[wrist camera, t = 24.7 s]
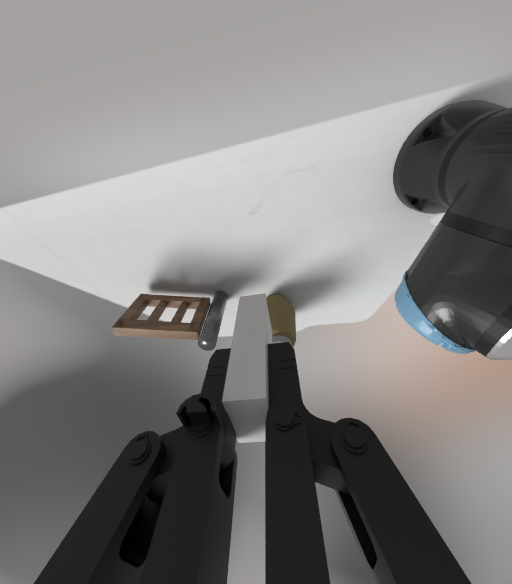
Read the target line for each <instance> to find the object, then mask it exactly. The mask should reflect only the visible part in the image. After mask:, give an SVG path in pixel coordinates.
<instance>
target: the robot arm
mask: <svg viewBox="0 0 512 584" xmlns="http://www.w3.org/2000/svg"><path fill="white" fill-rule="evenodd" d="M393 182H394V188H395V192H396V194H397V196H398V198H399V199H400V200H401V202H402V203H403V204H405V205H406V206H407V207H409V208H411V209H414V210H416V211H419V212H423V213H431V214H435V213H444V212H446V213H445V215H444V216H443V218H442V219H441V221H440V222H439V224H438V225H437V227H436V228H435V230H434V232H433V233H432V235H431V236H430V238H429V239H428V241H427V242H426V244H425V245H424V247H423V248H422V250H421V251H420V253H419V254H418V256H417V258H416V259H415V261H414V262H413V264H412V265H411V267H410V268H409V269H408V270H407V271H406V272H405V274H404V276H403V280H402V282H401V284H400V286H399V287H398V289H397V291H396V293H395V302H396V307H397V309H398V311H399V313H400V314H401V316H402V317H403V318H404V320H405V321H406V322H407V323H408V324H409V325H410V326H411V327H412V328H413V329H414V330H416V331H417V332H418V333H419V334H421V335H422V336H423V337H424V338H426V339H427V340H429V341H431V342H432V343H434V344H436V345H439V344H440V345H441V346H442V347H443V348H444V349H446V350H449V351H451V352H455V353H462V354H465V353H470V352H474V351H478V352H479V353H481V354H482V355H484V356H485V357H487V358H489V359H491V360H512V108H506V107H503V106H500V105H497V104H494V103H491V102H487V101H482V100H470V101H464V102H460V103H456V104H452V105H449V106H446V107H444V108H442V109H440V110H438V111H436V112H434V113H433V114H431V115H430V116H428V117H427V118H426V119H424V120H423V121H422V122H421V123H420V124H419V125H418V126H417V127H416V128H415V129H414V130H413V131H412V133H411V134H410V135H409V136H408V138H407V139H406V141H405V142H404V144H403V146H402V148H401V150H400V152H399V154H398V157H397V159H396V163H395V167H394V173H393ZM176 414H177V415H178V417H179V419H180V420H181V422H182V424H183V426H182V427H180V428H178V429H176V430H173V431H171V432H169V433H166V434H164V435H161V436H159V435H158V434H157V433H155V432H153V431H146V432H143V433H141V434H139V435H137V436H136V437H135V438H133V439H132V440H131V441H130V442H129V443H128V445H127V446H126V447H125V448H124V450H123V451H122V453H121V454H120V456H119V457H118V459H117V460H116V462H115V463H114V465H113V466H112V468H111V469H110V471H109V472H108V474H107V475H106V477H105V478H104V480H103V481H102V483H101V484H100V486H99V487H98V489H97V490H96V492H95V493H94V495H93V496H92V498H91V499H90V501H89V502H88V504H87V505H86V507H85V508H84V510H83V511H82V512H81V514H80V515H79V517H78V519H77V520H76V521H75V523H74V524H73V526H72V527H71V529H70V530H69V532H68V533H67V535H66V536H65V538H64V539H63V541H62V542H61V544H60V545H59V547H58V548H57V550H56V551H55V553H54V554H53V556H52V557H51V559H50V560H49V562H48V563H47V565H46V566H45V568H44V569H43V571H42V572H41V574H40V575H39V577H38V578H37V580H36V581H35V583H34V584H227V574H228V562H229V551H230V539H231V527H232V516H233V505H234V492H235V481H236V469H237V453H236V451H235V443H236V437H237V440H238V442H239V443H242V442H262V441H265V444H266V445H265V452H266V453H265V454H266V456H265V459H266V460H265V461H266V462H265V463H266V464H265V467H266V468H265V473H266V475H265V480H266V481H265V486H266V487H265V488H266V489H265V491H266V493H265V494H266V495H265V497H266V501H265V502H266V584H330V579H329V572H328V566H327V559H326V553H325V546H324V541H323V540H324V539H323V533H322V526H321V520H320V513H319V506H318V500H317V493H316V487H315V482H317V483H320V484H322V485H325V486H327V487H330V488H332V489H335V491H336V494H337V496H338V499H339V501H340V504H341V506H342V508H343V511H344V513H345V516H346V518H347V521H348V523H349V526H350V528H351V531H352V533H353V535H354V538H355V540H356V543H357V545H358V548H359V550H360V552H361V555H362V557H363V560H364V562H365V565H366V567H367V569H368V572H369V575H370V577H371V580H372V582H373V584H471V583H470V581H469V579H468V578H467V576H466V575H465V574H464V571H463V570H462V568H461V567H460V565H459V564H458V562H457V561H456V559H455V557H454V556H453V555H452V553H451V551H450V550H449V548H448V547H447V545H446V543H445V542H444V541H443V539H442V537H441V536H440V534H439V533H438V531H437V530H436V528H435V527H434V525H433V523H432V522H431V520H430V519H429V517H428V516H427V514H426V513H425V511H424V509H423V508H422V506H421V505H420V503H419V502H418V500H417V498H416V497H415V495H414V494H413V492H412V491H411V489H410V488H409V486H408V484H407V483H406V482H405V480H404V478H403V477H402V475H401V474H400V472H399V470H398V469H397V467H396V466H395V464H394V463H393V461H392V460H391V458H390V457H389V455H388V453H387V452H386V451H385V449H384V447H383V446H382V444H381V443H380V441H379V439H378V438H377V436H376V435H375V433H374V432H373V431H372V430H371V429H370V428H369V426H367V425H366V424H365V423H363V422H361V421H360V420H357V419H353V418H344V419H341V420H339V421H337V422H336V423H334V422H330V421H326V420H323V419H320V418H317V417H315V416H314V415H312V414H311V413H310V412H309V411H308V410H307V409H306V408H305V406H304V404H303V401H302V397H301V391H300V384H299V377H298V371H297V364H296V358H295V351H294V348H293V347H292V346H291V344H290V343H289V342H281V343H272V329H271V323H270V318H269V312H268V306H267V300H266V295H265V294H258V295H250V296H243V297H240V299H239V305H238V311H237V317H236V322H235V328H234V334H233V340H232V346H231V348H229V349H219V350H216V351H215V352H214V354H213V355H212V357H211V358H210V360H209V364H208V370H207V372H206V377H205V380H204V383H203V387H202V391H201V394H197V395H193V396H192V397H190V398H188V399H186V400H185V401H184V402H183V403H182V404H181V406H180V407H179V410H178V411H177V413H176Z"/></svg>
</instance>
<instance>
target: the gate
mask: <svg viewBox="0 0 512 584" xmlns="http://www.w3.org/2000/svg"><path fill="white" fill-rule="evenodd" d="M147 306H153V307H156V308H155V310H154V311H153V312H152V314H151V315H150V317H149V318H148V320H147V321H145V320H137V318H138V317H139V316H140V315H141V313H142V312H143V311H144V310H145V308H146V307H147ZM166 307H171V308H178V310H177V312H176V314H175V316H174V317H173V319H172V321H171V322H162V321H158V319H159V318H160V316H161V315H162V313H163V312H164V310H165V308H166ZM209 307H210V298H204V297H202V298H200V297H183V296H165V295H149V294H140V296H139V297H138V298H137V299H136V300H135V301H134V302H133V304H132V305H131V306H130V307H129V308H128V309H127V310H126V312H125V313H124V314H123V315H122V316H121V317H120V318H119V320H118V321H117V322H116V323H115V324H114V325H113V326H112V330H113V333H114V335H119V336H136V337H155V338H172V339H189V340H198V339H199V336H200V333H201V330H202V327H203V324H204V322H205V319H206V316H207V313H208V310H209ZM187 308H188V309H196V312H195V314H194V316H193V319H192V321H191V323H181V321H182V319H183V317H184V314H185V312H186V310H187Z"/></svg>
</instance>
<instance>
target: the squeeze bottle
mask: <svg viewBox="0 0 512 584" xmlns="http://www.w3.org/2000/svg"><path fill="white" fill-rule="evenodd" d="M266 300H267V306H268V312H269V318H270V323H271V329H272V343H281V342H289V343H290V344H291V346H292V347H293V346H294V345H295V341H296V326H295V311H294V307H293V306H292V305H291V304H290V303H289V302H288V301H287V299H286V298H285V297H283V296H281V295H271V296H269V297H267V298H266Z"/></svg>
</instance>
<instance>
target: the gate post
mask: <svg viewBox="0 0 512 584" xmlns="http://www.w3.org/2000/svg"><path fill="white" fill-rule="evenodd" d="M226 301H227V295H226V293H224V292H222V291H218V292H216V293H215V295H214V297H213V300H212V303H211V306H210V309H209V312H208V315H207V318H206V320H205V323H204V326H203V329H202V332H201V335H200V338H199V341H198V345H199V347H200V348H202V349H203V350H212V349H214V348H215V345H216V342H217V338H218V334H219V330H220V325H221V321H222V317H223V313H224V309H225V305H226Z"/></svg>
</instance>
